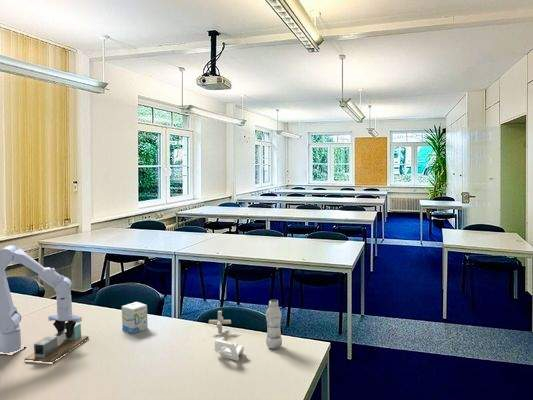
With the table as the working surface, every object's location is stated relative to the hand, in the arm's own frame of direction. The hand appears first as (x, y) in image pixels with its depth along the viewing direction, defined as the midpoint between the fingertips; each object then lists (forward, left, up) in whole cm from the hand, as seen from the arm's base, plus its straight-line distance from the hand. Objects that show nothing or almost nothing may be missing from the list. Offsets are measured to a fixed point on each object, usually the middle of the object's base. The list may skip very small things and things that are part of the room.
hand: (65, 337), depth 180 cm
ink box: (+21, +21, -4) cm, 30 cm away
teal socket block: (0, +4, -2) cm, 5 cm away
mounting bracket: (+72, +1, -4) cm, 72 cm away
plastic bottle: (+89, +11, -4) cm, 90 cm away
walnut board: (0, -6, -3) cm, 7 cm away
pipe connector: (+62, +23, -4) cm, 66 cm away
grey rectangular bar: (0, -1, 0) cm, 1 cm away
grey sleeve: (0, -12, -2) cm, 12 cm away
